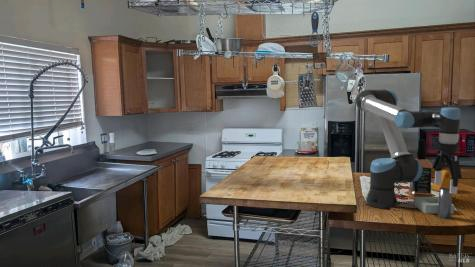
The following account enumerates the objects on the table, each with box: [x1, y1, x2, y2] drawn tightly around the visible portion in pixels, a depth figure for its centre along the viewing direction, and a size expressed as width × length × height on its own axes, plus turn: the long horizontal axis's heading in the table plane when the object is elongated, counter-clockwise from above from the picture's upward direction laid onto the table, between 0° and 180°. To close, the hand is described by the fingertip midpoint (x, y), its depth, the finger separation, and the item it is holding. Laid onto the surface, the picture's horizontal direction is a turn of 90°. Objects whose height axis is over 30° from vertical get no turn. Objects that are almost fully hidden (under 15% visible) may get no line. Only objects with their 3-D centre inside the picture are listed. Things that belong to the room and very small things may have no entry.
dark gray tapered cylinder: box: [437, 188, 453, 220], centre depth 163 cm, size 5×5×14 cm
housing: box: [412, 196, 455, 215], centre depth 175 cm, size 13×13×5 cm
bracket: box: [431, 169, 452, 192], centre depth 210 cm, size 11×7×12 cm, turn 113°
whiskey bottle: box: [408, 139, 434, 199], centre depth 194 cm, size 10×10×32 cm
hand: (445, 188), depth 163 cm, fingers open, 13 cm apart
